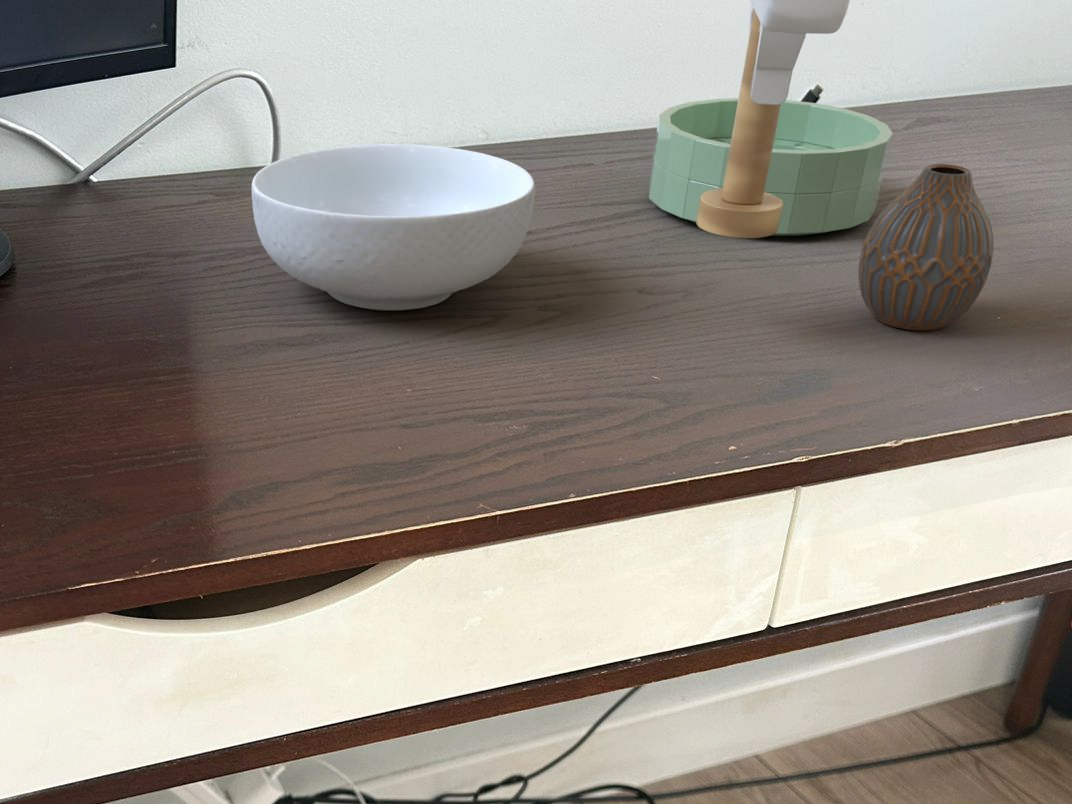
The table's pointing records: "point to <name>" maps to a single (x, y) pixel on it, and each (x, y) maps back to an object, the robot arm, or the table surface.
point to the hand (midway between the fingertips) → (763, 93)
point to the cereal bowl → (392, 220)
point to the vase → (927, 252)
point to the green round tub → (776, 162)
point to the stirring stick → (746, 167)
